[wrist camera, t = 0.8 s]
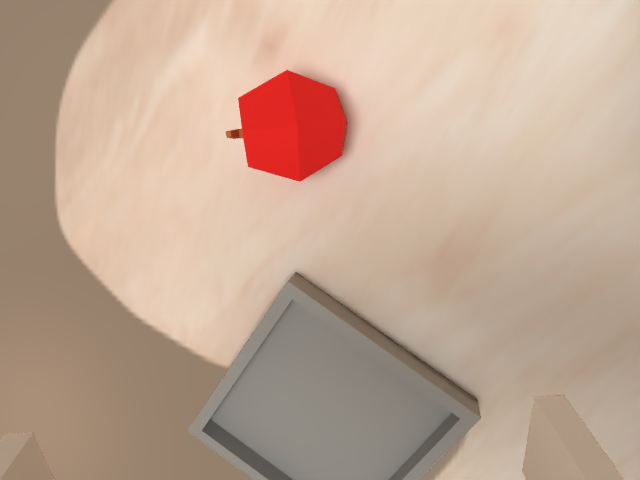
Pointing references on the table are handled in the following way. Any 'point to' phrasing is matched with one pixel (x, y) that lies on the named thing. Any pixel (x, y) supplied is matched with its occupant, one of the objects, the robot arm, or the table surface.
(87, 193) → the table surface
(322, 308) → the tray
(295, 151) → the apple
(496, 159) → the table surface
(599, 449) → the robot arm
